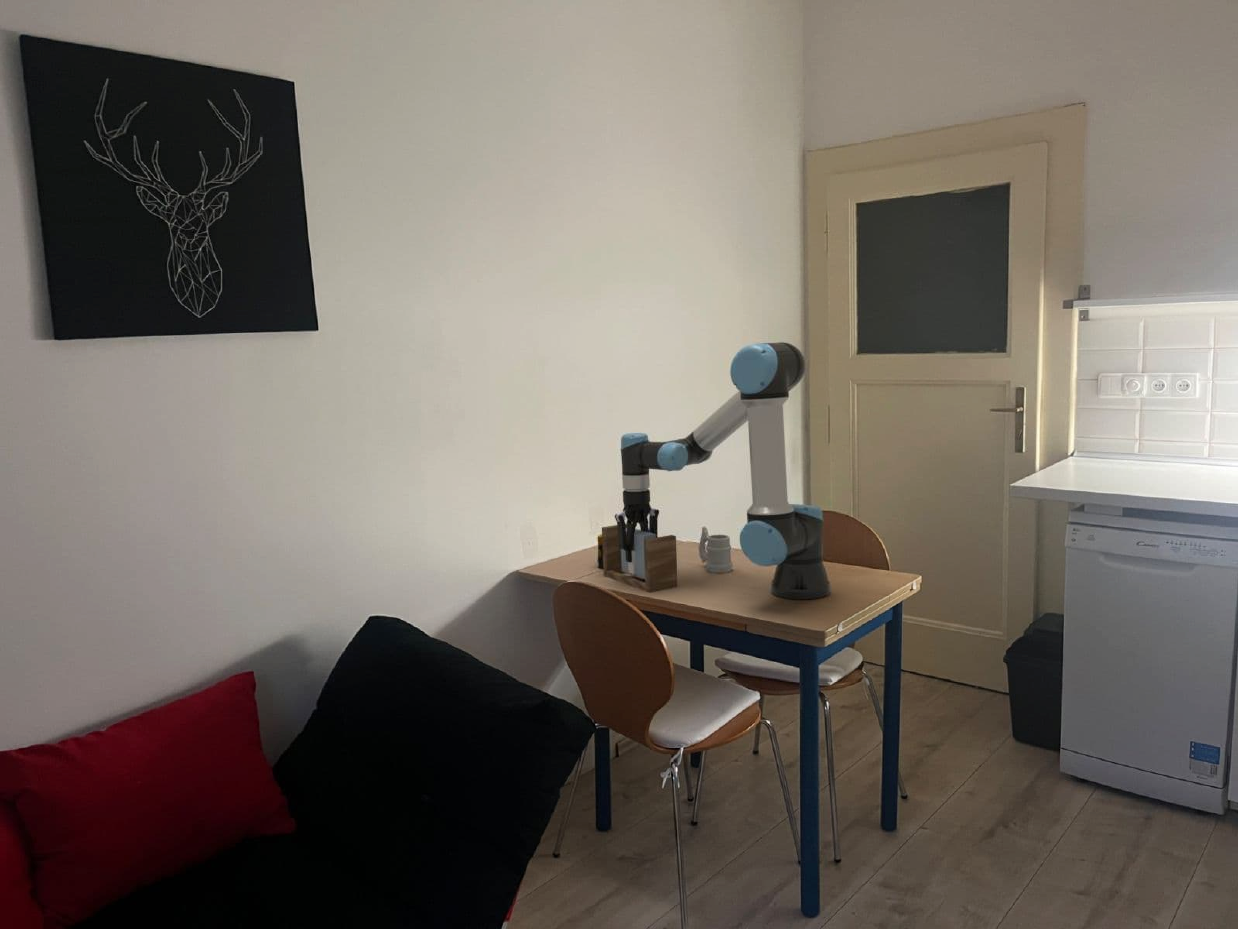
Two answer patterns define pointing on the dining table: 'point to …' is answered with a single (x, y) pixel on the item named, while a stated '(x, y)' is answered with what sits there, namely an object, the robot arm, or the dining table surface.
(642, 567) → the pale blue book
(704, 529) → the mug
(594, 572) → the dining table surface
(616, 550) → the rack
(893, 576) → the dining table surface
